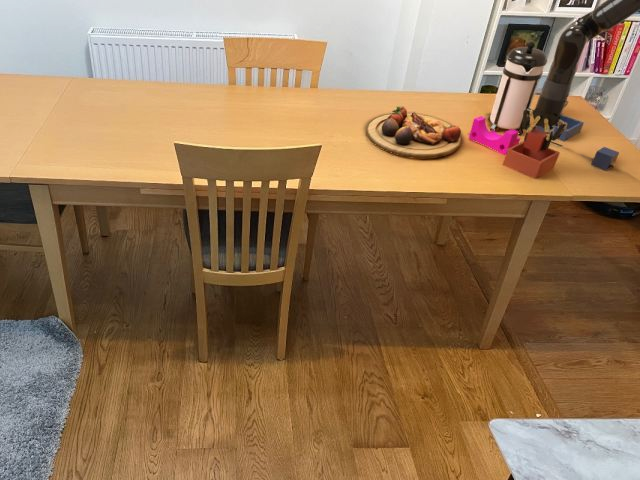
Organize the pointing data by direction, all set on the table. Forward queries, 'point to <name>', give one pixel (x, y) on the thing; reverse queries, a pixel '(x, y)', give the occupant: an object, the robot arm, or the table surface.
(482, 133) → the magenta cradle bracket
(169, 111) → the table surface
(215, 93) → the table surface
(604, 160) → the blue block
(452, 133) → the wooden plate
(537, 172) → the red bin
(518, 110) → the coffee press
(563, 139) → the blue bin
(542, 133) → the red block
